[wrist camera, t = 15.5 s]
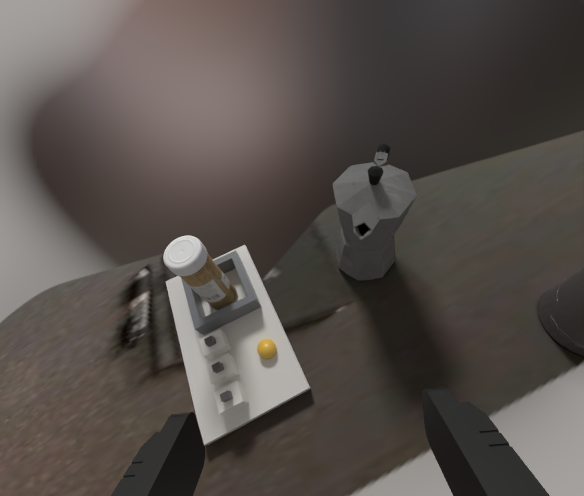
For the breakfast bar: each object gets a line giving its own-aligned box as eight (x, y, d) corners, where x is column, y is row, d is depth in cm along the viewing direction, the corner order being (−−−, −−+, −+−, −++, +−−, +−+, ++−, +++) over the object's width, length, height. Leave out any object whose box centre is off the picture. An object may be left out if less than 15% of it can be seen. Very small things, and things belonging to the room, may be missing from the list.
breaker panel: (247, 249, 49) (238, 232, 45) (310, 388, 36) (306, 383, 32) (170, 285, 47) (153, 271, 43) (208, 444, 34) (189, 447, 30)
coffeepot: (387, 301, 41) (415, 227, 25) (324, 285, 43) (314, 210, 28) (403, 217, 48) (431, 121, 33) (347, 208, 50) (350, 115, 35)
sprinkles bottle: (241, 285, 44) (207, 236, 32) (232, 313, 41) (191, 271, 30) (214, 281, 45) (172, 232, 33) (203, 308, 42) (154, 266, 31)
